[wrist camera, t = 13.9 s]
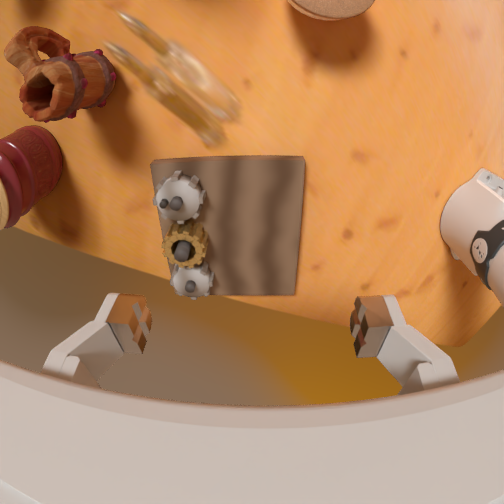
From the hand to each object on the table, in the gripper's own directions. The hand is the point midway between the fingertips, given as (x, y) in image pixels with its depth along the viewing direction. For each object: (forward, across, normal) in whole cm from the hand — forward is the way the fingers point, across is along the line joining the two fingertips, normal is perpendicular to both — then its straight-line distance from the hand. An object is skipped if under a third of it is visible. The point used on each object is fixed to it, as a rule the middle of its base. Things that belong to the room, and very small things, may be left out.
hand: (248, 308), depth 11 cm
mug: (+32, +23, -12) cm, 42 cm away
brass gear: (+30, +11, +16) cm, 36 cm away
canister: (+32, +38, +1) cm, 49 cm away
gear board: (+32, +5, +16) cm, 36 cm away
